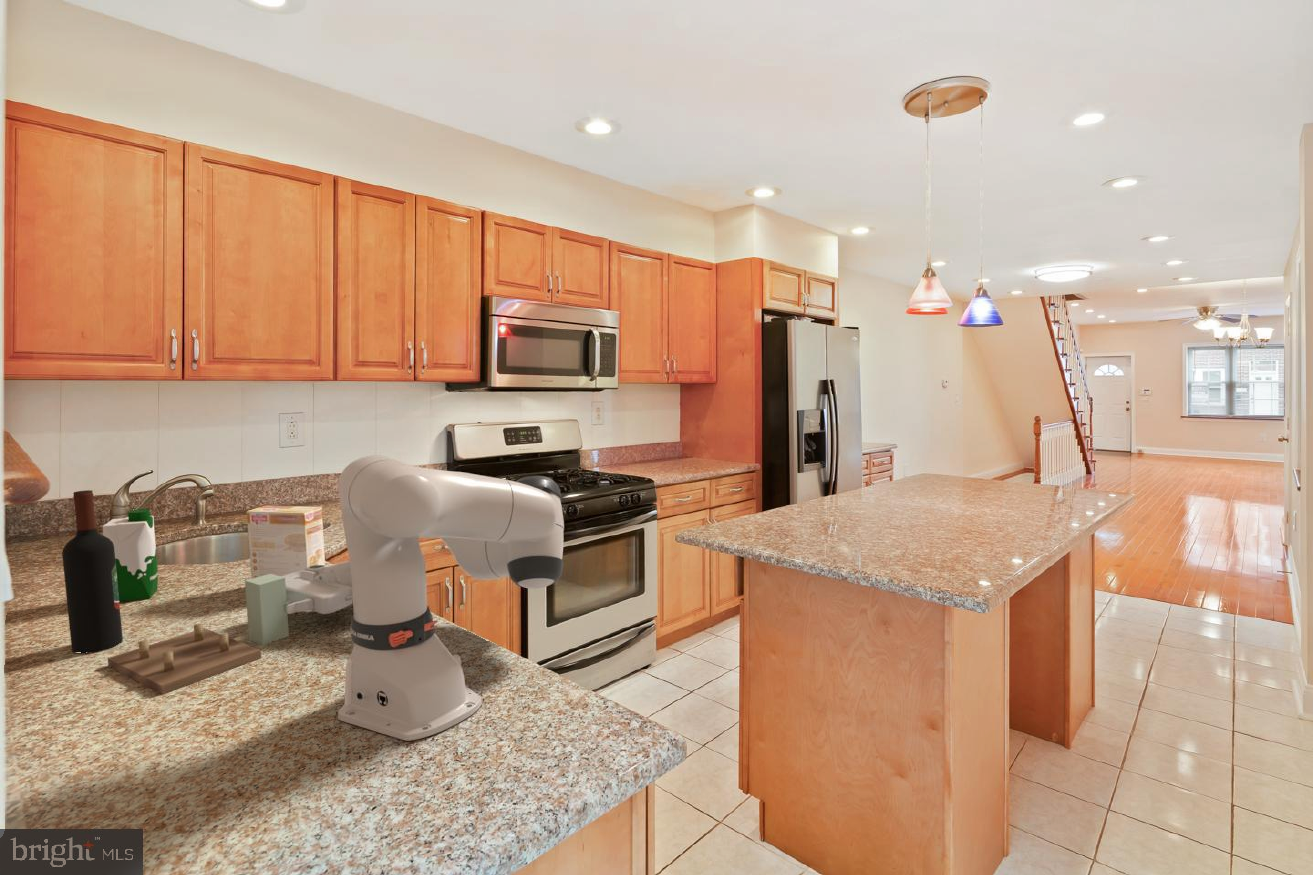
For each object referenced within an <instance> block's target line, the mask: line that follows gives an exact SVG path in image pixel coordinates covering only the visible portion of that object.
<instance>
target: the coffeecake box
mask: <svg viewBox="0 0 1313 875" xmlns="http://www.w3.org/2000/svg"><path fill="white" fill-rule="evenodd" d="M246 518H247V520H246V521H247V535H248V536H247V537H248V547H249V548H248V550H249V564H250V576H251V577H250V579H253V578H256V577H260V576H264V575H268V574H274V575H277V576H284V575H287V574H290V573H293V572H297V571H304V570H305V567H307V566H311V565H326V564H325V563H326V561H325V560H326V559H325V557H326V556H325V542H324V525H323V524H324V523H323V521H324V520H323V507H322V506H299V505H296V506H294V505H262V506H259V507H255V508H252V509H249V510H247V511H246Z"/></svg>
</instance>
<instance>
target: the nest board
mask: <svg viewBox="0 0 1313 875" xmlns="http://www.w3.org/2000/svg"><path fill="white" fill-rule="evenodd" d="M261 658H262V651H261V649H259V648H256V647H254V646H251V645H249V644H246V643H244V642H241V641H239V640H236V639H233V638H231V637H229V633H228V632H227V633H226V632H225V633H218V632H216V631H213V630H212V629H211V630H210V629H208V628H205V627H204V624H203V623H196V624H194V625H193V631H192V632H191V631H190V632H188V633H184V634H181V635H178V636H174V637H171V638H168V639H164V640H162V641H159V642H156V643H152V644H149V640H148V639H143V640H140V641H139V642H138V648H136V649H132V650H130V651H126V652H123V653H120V654H117V655H113V656H110V657H108V658H107V665H108V667H109V666H110V667H109V668H111V669H113V670H115V671H117V672H119V673H121V674H123V675H125V676H127V677H128V678H130V679H132V680H134V681H135V682H138V683H140V684H142V685H144V686H146V687H147V688H149V689H151V690H153V691H155V692H157V693H159V694H160V695H166V694H168V693H170V692H173V691H175V690H178V689H181V688H184V687H187V686H189V685H193V684H195V683H198V682H199V681H203V680H205V679H208V678H211V677H213V676H216V675H219V674H221V673H224V672H227V671H229V670H232V669H235V668H237V667H240V666H243V665H245V664H248V662H249V663H251V662H255V661H256V660H260V659H261Z"/></svg>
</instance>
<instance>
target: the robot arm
mask: <svg viewBox="0 0 1313 875" xmlns="http://www.w3.org/2000/svg"><path fill="white" fill-rule="evenodd" d="M337 489H338V497H339V502H340V511H341V517H342V518H341V519H342V525H343V530H344V538H345V543H346V548H347V549H346V550H347V554H348V557H349V558H348V559H349V560H345V561H341V562H337V563H331V564H325V565H311V566H307V567H305V570H304V571H297V572H293V573H290V574H287V575H284V576H281V577H284V578H285V584H286V600H287V604H284V606H283V608H284V612H285V613H287V615H288V614H289V615H292V614H294V613H301V612H309V611H312V612H315V613H317V614H321V615H330V614H333V613H335V612H338V611H340V610H342V609H345V608H346V607H348V606H351V605H352V607H353V608H352V609H353V610H352V611H353V615H351V617H350V626H349V629H350V634H351V641H352V642H353V646H352V649H351V652H350V655H349V657H348V659H347V661H346V664H345V682H344V684H345V685H344V686H345V687H344V704H343V705H342V706H340V707H341V708H339V710H338V712H337V719H338V721H341V722H344V723H348V724H351V725H354V726H357V727H361V728H363V729H367V730H370V731H374V732H375V733H380V734H383V735H385V736H386V735H387V736H389V737H392V738H395V739H397V740H398V739H399V740H402V741H405V742H407V741H408V742H410V741H415V740H420V739H423V738H427V737H429V736H432V735H436V734H438V733H440V732H443V731H445V730H447V729H449V728H451V727H453V726H455V725H457V724H459V723H461V722H462V721H464V720H466V719H467V718H469V717H470V716H472V715H473V714H475V713H476V712H477V711H479V710H478V709H479V708H481V706H482V703H483V702H482V701H483V700H482V697H481V696H480V695H479V694H478V693H477V692H475V691H473V690H472V689H471V688H469V687H468V686H467V685H466V682H465V680H466V679H465V674H464V670H463V667H462V660H461V657H460V655H459V654H453V655H452V654H451V652H450V651H449V649H448V648H447V647H446V646H445V644H444V643H443V642H442V641H441V640H440V638H439V637H438V635H437V634H436V628H437V627H438V626H439V625H435V624H437V623H438V622H439V621H438V620H434V617H433V614H432V612H431V610H430V606H429V605H428V596H427V595H428V593H427V569H426V560H425V559H426V558H425V556H424V553H423V552H422V549H421V544H420V541H419V540H420V539H427V538H428V539H429V538H430V539H434V538H435V539H436V538H439V539H441V541H443V543H444V544H445V545H446V547H447V548H448V550H449V551H450V553H451V554H452V556H453V558H454V560H455V561H456V563H457V565H458V566H459V568H460V569H462V571H463V572H464V573H465V574H467V575H468V576H470V577H471V578H473V579H476V580H482V581H485V580H497V579H502V578H507V577H509V578H510V580H511V581H512V582H513V583H514V584H515V585H516V586H518V587H522V588H526V589H530V590H531V589H532V590H538V589H543V588H545V587H549V586H552V585H554V584H556V583H557V582H558V580H559V579H561V577H562V574H563V571H564V562H565V561H564V559H563V554H564V531H565V520H564V515H563V514H564V512H563V507H562V503H561V502H562V500H563V498H562V493H561V489H560V487H559V484H558V483H557V482H555V481H554V480H553V479H552V478H550V477H548V476H544V475H530V476H529V475H528V476H524V477H521V478H518V479H517V480H516V481H515V480H509V479H505V478H504V479H503V478H498V477H493V476H487V475H480V474H474V473H470V472H462V471H451V470H444V469H443V470H441V469H435V468H428V467H422V466H421V467H420V466H415V465H411V464H407V463H405V462H401V461H398V460H395V459H393V458H391V457H388V456H383V455H380V454H379V455H377V454H375V455H368V456H363V457H360V458H358V459H356V460H353V461H352V462H350V463H349V464H348V465H347V466H346V467H344V469H343V470H342V472H341V474H340V476H339V478H338V482H337Z"/></svg>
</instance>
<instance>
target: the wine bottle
mask: <svg viewBox="0 0 1313 875" xmlns="http://www.w3.org/2000/svg"><path fill="white" fill-rule="evenodd" d="M72 495H73V502H74V513H75V521H76V522H75V523H76V524H75V525H76V535H75V536H73V537H72V538H71V539H70V540H69V541H68V542H66V544H65V545H64V547H63V548H62V551H61V552H62V553H61V555H62V566H63V574H64V575H63V576H64V586H65V596H66V597H65V598H66V605H67V614H68V615H67V616H68V623H69V634H70V646H71V652H73V653H74V652H81V653H85V654H87V653H86V652H93V653H98V652H102V651H106V650H110V649H112V648H115V647H117V646H119V645H120V644H121V643H123V639H124V638H123V629H122V618H121V617H122V616H121V607H120V606H121V604H120V602H119V594H118V583H117V572H116V561H115V551H114V544H113V542H112V541H111V540H110V539H109V538H107V537H105V536H103V534H101V533H99V531H98V529H97V526H96V525H97V524H96V515H95V514H96V513H95V505H94V498H95V497H94V492H93V490H92V489H91V490H90V489H89V490H79V491H74V492H73V493H72ZM119 643H120V644H119ZM118 644H119V645H118ZM116 645H117V646H116ZM114 646H115V647H114Z"/></svg>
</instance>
